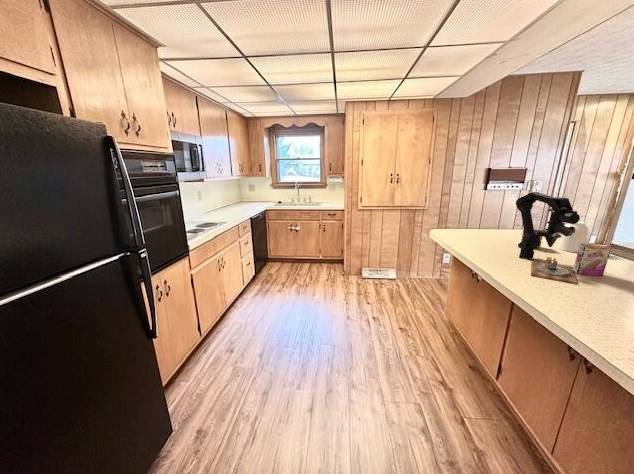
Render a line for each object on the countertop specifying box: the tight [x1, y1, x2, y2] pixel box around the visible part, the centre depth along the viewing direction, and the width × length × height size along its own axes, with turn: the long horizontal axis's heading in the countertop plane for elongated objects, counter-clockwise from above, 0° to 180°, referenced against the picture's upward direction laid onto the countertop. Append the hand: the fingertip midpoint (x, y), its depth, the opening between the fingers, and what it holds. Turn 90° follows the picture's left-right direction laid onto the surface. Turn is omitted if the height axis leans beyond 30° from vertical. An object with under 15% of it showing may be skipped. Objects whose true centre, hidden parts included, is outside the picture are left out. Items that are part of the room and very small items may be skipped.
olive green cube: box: [520, 229, 543, 250], centre depth 191 cm, size 11×12×11 cm
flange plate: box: [536, 256, 570, 276], centre depth 148 cm, size 18×13×4 cm
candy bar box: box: [572, 243, 612, 277], centre depth 143 cm, size 11×5×16 cm, turn 71°
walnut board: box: [530, 261, 578, 285], centre depth 147 cm, size 18×24×1 cm
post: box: [550, 260, 558, 271], centre depth 146 cm, size 2×2×7 cm
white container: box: [558, 220, 589, 253], centre depth 182 cm, size 12×12×20 cm
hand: (550, 246), depth 153 cm, fingers closed
